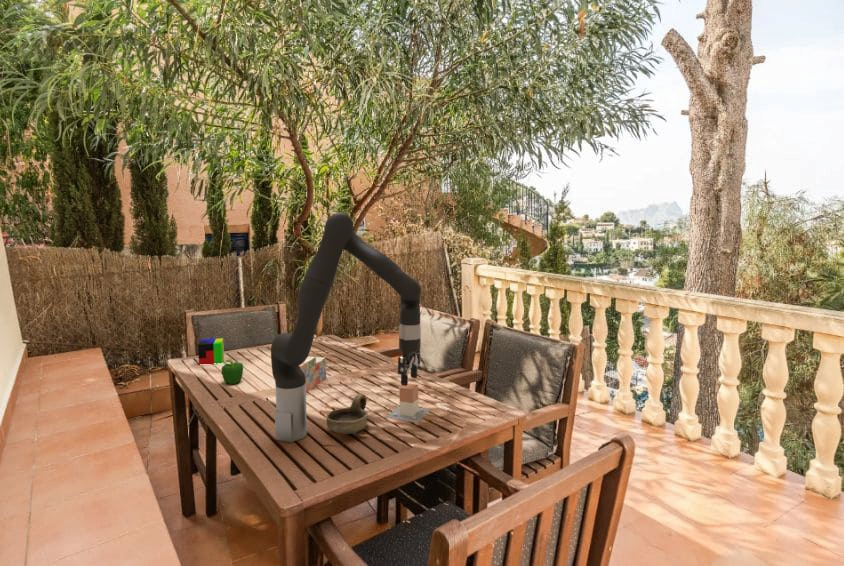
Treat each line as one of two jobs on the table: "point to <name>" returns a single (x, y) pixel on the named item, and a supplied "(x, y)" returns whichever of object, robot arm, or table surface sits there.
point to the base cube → (408, 408)
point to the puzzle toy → (211, 351)
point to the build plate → (415, 418)
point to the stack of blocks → (313, 371)
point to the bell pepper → (232, 372)
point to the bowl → (349, 417)
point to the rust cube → (409, 393)
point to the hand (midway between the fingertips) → (409, 381)
